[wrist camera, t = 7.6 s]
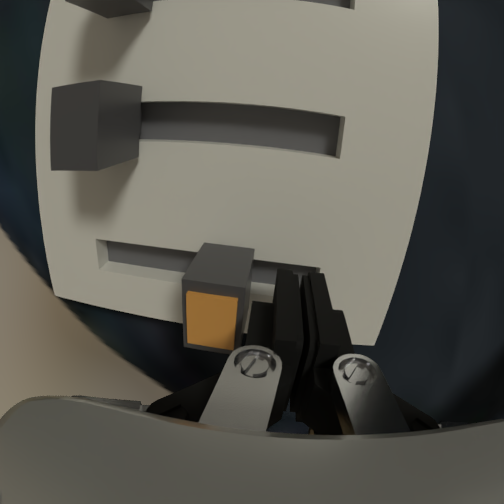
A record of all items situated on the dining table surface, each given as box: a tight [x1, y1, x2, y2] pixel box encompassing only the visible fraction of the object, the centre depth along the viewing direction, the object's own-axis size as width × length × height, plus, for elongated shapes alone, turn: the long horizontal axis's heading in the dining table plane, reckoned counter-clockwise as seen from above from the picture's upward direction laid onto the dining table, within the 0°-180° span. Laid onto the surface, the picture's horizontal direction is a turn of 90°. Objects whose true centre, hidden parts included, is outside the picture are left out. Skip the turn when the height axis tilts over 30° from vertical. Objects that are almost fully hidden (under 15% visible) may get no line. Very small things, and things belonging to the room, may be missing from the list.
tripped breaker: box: [182, 242, 255, 354], centre depth 12 cm, size 2×3×4 cm
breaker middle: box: [50, 80, 142, 171], centre depth 10 cm, size 2×3×4 cm
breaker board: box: [35, 0, 438, 345], centre depth 12 cm, size 17×18×2 cm
